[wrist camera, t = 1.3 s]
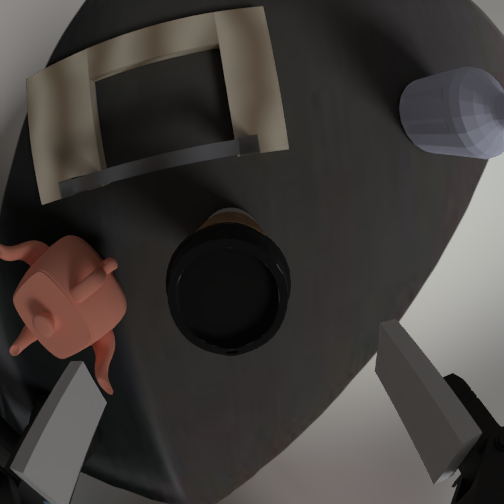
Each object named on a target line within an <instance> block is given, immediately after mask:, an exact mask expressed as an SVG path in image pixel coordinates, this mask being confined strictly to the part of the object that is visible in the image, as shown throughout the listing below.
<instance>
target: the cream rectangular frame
mask: <svg viewBox="0 0 504 504" xmlns="http://www.w3.org/2000/svg"><path fill="white" fill-rule="evenodd" d="M217 48H220V53H221V59H222V65H223V71H224V77H225V83H226V89H227V96H228V102H229V108H230V114H231V120H232V126H233V132H234V138H235V140H230V141H224V142H218V143H213V144H207V145H202V146H197V147H192V148H187V149H182V150H178V151H173V152H169V153H164V154H160V155H156V156H152V157H148V158H144V159H140V160H136V161H132V162H128V163H125V164H121V165H117V166H114V167H110V168H107V167H106V161H105V156H104V150H103V144H102V137H101V131H100V124H99V116H98V108H97V100H96V90H95V82H96V81H98V80H101V79H104V78H106V77H109V76H112V75H115V74H118V73H121V72H124V71H127V70H130V69H133V68H136V67H140V66H143V65H147V64H150V63H154V62H157V61H161V60H165V59H169V58H173V57H177V56H182V55H186V54H191V53H196V52H201V51H206V50H211V49H217ZM26 90H27V109H28V122H29V132H30V140H31V148H32V155H33V162H34V168H35V173H36V179H37V184H38V189H39V194H40V199H41V203H42V205H44V204H46V203H49V202H52V201H55V200H58V199H62V198H66V197H69V196H72V195H75V194H78V193H81V192H84V191H87V190H91V189H94V188H98V187H101V186H105V185H108V184H110V182H114V181H118V180H121V179H125V178H129V177H133V176H137V175H141V174H145V173H149V172H153V171H158V170H162V169H167V168H171V167H176V166H180V165H185V164H190V163H195V162H200V161H205V160H211V159H216V158H222V157H228V156H234V155H237V156H246V155H252V154H259V153H263V152H271V151H278V150H286V149H289V146H288V139H287V132H286V126H285V120H284V114H283V107H282V102H281V96H280V90H279V84H278V79H277V73H276V68H275V62H274V57H273V52H272V47H271V42H270V37H269V32H268V27H267V22H266V18H265V13H264V9H263V6H261V7H250V8H240V9H232V10H225V11H218V12H212V13H206V14H201V15H195V16H190V17H186V18H181V19H177V20H173V21H169V22H165V23H161V24H157V25H153V26H150V27H146V28H143V29H140V30H137V31H133V32H130V33H127V34H124V35H121V36H118V37H116V38H113V39H110V40H107V41H105V42H102V43H100V44H97V45H95V46H92V47H90V48H87V49H85V50H83V51H80V52H78V53H76V54H74V55H72V56H69V57H67V58H65V59H63V60H61V61H59V62H57V63H55V64H53V65H51V66H49V67H47V68H45V69H43V70H42V71H40V72H38V73H36V74H34V75H33V76H31V77H29V78H27V79H26Z"/></svg>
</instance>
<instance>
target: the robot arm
mask: <svg viewBox="0 0 504 504" xmlns="http://www.w3.org/2000/svg"><path fill="white" fill-rule="evenodd" d="M375 372H376V374H377V375H378V377H379V379H380V381H381V383H382V384H383V386H384V388H385V390H386V392H387V394H388V395H389V397H390V399H391V401H392V403H393V405H394V407H395V408H396V410H397V412H398V414H399V416H400V418H401V420H402V422H403V424H404V426H405V427H406V429H407V431H408V433H409V435H410V437H411V439H412V441H413V443H414V445H415V447H416V449H417V451H418V453H419V455H420V457H421V459H422V461H423V463H424V465H425V467H426V469H427V471H428V473H429V475H430V477H431V479H432V482H433V484H434V485H435V484H437V483H439V482H441V481H443V480H445V479H447V478H449V477H451V476H452V475H453V474H454V473H455V471H456V470H457V469H459V470H460V472H461V475H460V476H459V477H458V478H457V480H456V481H455V482H454V484H453V486H452V487H455V486H456V485H457V487H456V490H455V493H454V496H453V499H452V502H451V504H504V427H501V426H500V425H499V424H498V423H497V422H496V421H495V419H494V418H493V417H492V415H491V414H490V413H489V411H488V410H487V409H486V407H485V406H484V405H483V403H482V402H481V401H480V400H479V399H478V398H477V397H476V394H475V393H474V392H473V391H471V388H470V387H469V386H468V384H467V383H466V382H465V381H464V380H463V379H462V378H460V377H459V376H457V375H455V374H453V373H452V374H450V375H448V376H445V377H442V376H441V375H440V373H439V372H438V371H437V369H436V368H435V367H434V366H433V364H432V363H431V362H430V360H429V359H428V358H427V357H426V355H425V354H424V353H423V352H422V350H421V349H420V348H419V347H418V345H417V344H416V343H415V342H414V340H413V339H412V338H411V337H410V335H409V334H408V333H407V332H406V331H405V329H404V328H403V327H402V326H401V325H400V323H399V322H398V321H397V320H396V319H393V320H389V321H385V322H382V323H380V328H379V339H378V349H377V358H376V367H375ZM106 403H107V402H106V401H105V399H104V398H103V396H102V394H101V393H100V391H99V389H98V387H97V386H96V384H95V382H94V381H93V379H92V377H91V375H90V373H89V372H88V370H87V368H86V366H85V364H84V362H83V361H71V362H70V363H69V365H68V366H67V368H66V370H65V371H64V373H63V374H62V376H61V377H60V379H59V381H58V382H57V384H56V385H55V387H54V389H53V390H52V392H51V394H50V395H48V394H43V395H39V396H38V397H37V398H36V399H35V401H34V402H33V404H32V406H31V416H30V420H29V424H28V425H27V426H26V428H25V430H24V431H23V433H22V436H21V435H20V434H19V433H18V432H17V431H16V430H15V429H14V428H13V427H12V426H11V425H10V424H9V423H8V422H7V421H6V420H5V419H4V418H3V417H2V416H1V415H0V504H70V503H71V499H72V496H73V493H74V490H75V487H76V484H77V481H78V478H79V475H80V472H81V469H82V467H83V465H84V464H85V463H86V462H87V460H88V459H89V458H90V457H91V455H92V454H93V453H94V452H96V451H97V450H98V449H99V447H100V444H101V441H102V438H103V437H102V432H101V430H100V428H99V427H98V422H99V420H100V417H101V415H102V413H103V410H104V408H105V405H106Z"/></svg>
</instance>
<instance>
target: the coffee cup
mask: <svg viewBox="0 0 504 504" xmlns="http://www.w3.org/2000/svg"><path fill="white" fill-rule="evenodd" d="M290 288H291V279H290V270H289V267H288V264H287V261H286V258H285V257H284V255H283V253H282V252H281V250H280V248H279V247H278V246H277V245H276V244H275V243H274V242H273V241H272V240H271V239H270V238H268V237H267V235H266V234H265V233H264V232H263V230H262V229H261V228H260V226H259V225H258V224H257V223H256V221H255V220H254V218H253V217H252V216H251V215H250V214H248V213H247V212H245V211H243V210H241V209H238V208H224V209H221V210H218V211H217V212H215V213H214V214H212V215H211V216H210V217H209V218H208V219H207V221H206V222H205V223H204V224H203V225H202V226H201V227H200V228H199V229H198V230H196V231H195V232H194V233H193V234H192V235H190V236H188V237H187V238H186V239H185V240H184V241H183V242H182V243H181V244H180V245H179V246H178V247H177V249H176V250H175V252H174V253H173V255H172V257H171V260H170V262H169V265H168V269H167V275H166V292H167V296H168V304H169V308H170V312H171V315H172V317H173V320H174V322H175V324H176V326H177V327H178V329H179V330H180V332H181V333H182V334H183V335H184V336H185V337H186V338H187V339H188V340H189V341H190V342H191V343H193V344H194V345H196V346H197V347H199V348H201V349H204V350H206V351H209V352H212V353H216V354H221V355H227V356H236V355H240V354H243V353H246V352H249V351H252V350H254V349H256V348H259V347H260V346H262V345H264V344H265V343H267V342H268V341H269V340H270V339H271V338H272V337H273V336H274V335H275V334H276V332H277V331H278V330H279V328H280V326H281V324H282V322H283V320H284V317H285V313H286V310H287V303H288V300H289V297H290Z"/></svg>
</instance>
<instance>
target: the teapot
mask: <svg viewBox="0 0 504 504" xmlns="http://www.w3.org/2000/svg"><path fill="white" fill-rule="evenodd" d="M0 258H1V259H4V260H6V261H13V260H23V261H25V262H26V263H28V264H29V265H30V266H31V267H30V268H29V269H28V271H27V272H26V274H25V275H24V277H23V278H22V280H21V281H20V283H19V285H18V287H17V289H16V291H15V293H14V296H13V302H14V305H15V307H16V310H17V311H18V313H19V315H20V317H21V318H22V320H23V321H24V323H25V326H24V328H23V330H22V332H21V334H20V335H19V337H18V338H17V340H16V341H15V342H14V343H13V344H12V346H11V348H10V354H11V355H12V356H16V355H18V354H19V353H20V352H21V351H22V350H23V349H24V348H26V347H27V346H28V345H30V344H31V343H33V342H34V341H36V340H37V339H38V340H39V342H40V343H41V344H42V345H43V346H44V347H45V348H46V349H47V350H48V351H50V352H51V353H52V354H53V355H55V356H56V357H58V358H60V359H64V358H67V357H69V356H71V355H74V354H76V353H78V352H79V351H81V350H83V349H85V348H86V347H88V346H90V345H92V347H93V349H94V351H95V354H96V363H95V375H96V379H97V381H98V383H99V384H100V386H101V387H102V388H103V389H104V390H105V391H106V392H107V393H109V394H113V390H112V387H111V385H110V382H109V380H108V367H109V364H110V361H111V358H112V356H113V353H114V349H115V338H114V334H113V331H112V328H114V327H115V326H116V325H117V324H118V323H119V321H120V320H121V319H122V317H123V316H124V314H125V312H126V308H127V307H126V298H125V295H124V292H123V290H122V288H121V286H120V284H119V283H118V281H117V279H116V277H115V276H114V274H113V272H112V271H113V270H115V269H116V268H117V267H118V264H117V261H116V260H115V259H114V258H113V257H109V258H107V259H105V260H103V259H102V257H101V256H100V255H99V254H98V253H97V252H96V251H95V250H94V249H93V248H92V247H91V246H90V245H89V244H88V243H87V242H86V241H85V240H83V239H82V238H80V237H77V236H74V235H68V236H65V237H63V238H61V239H60V240H58V241H57V242H56V243H54V244H53V245H52V246H48V245H46V244H45V243H43V242H40V241H35V240H33V241H27V242H24V243H21V244H18V245H15V246H4V245H2V244H0Z"/></svg>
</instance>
